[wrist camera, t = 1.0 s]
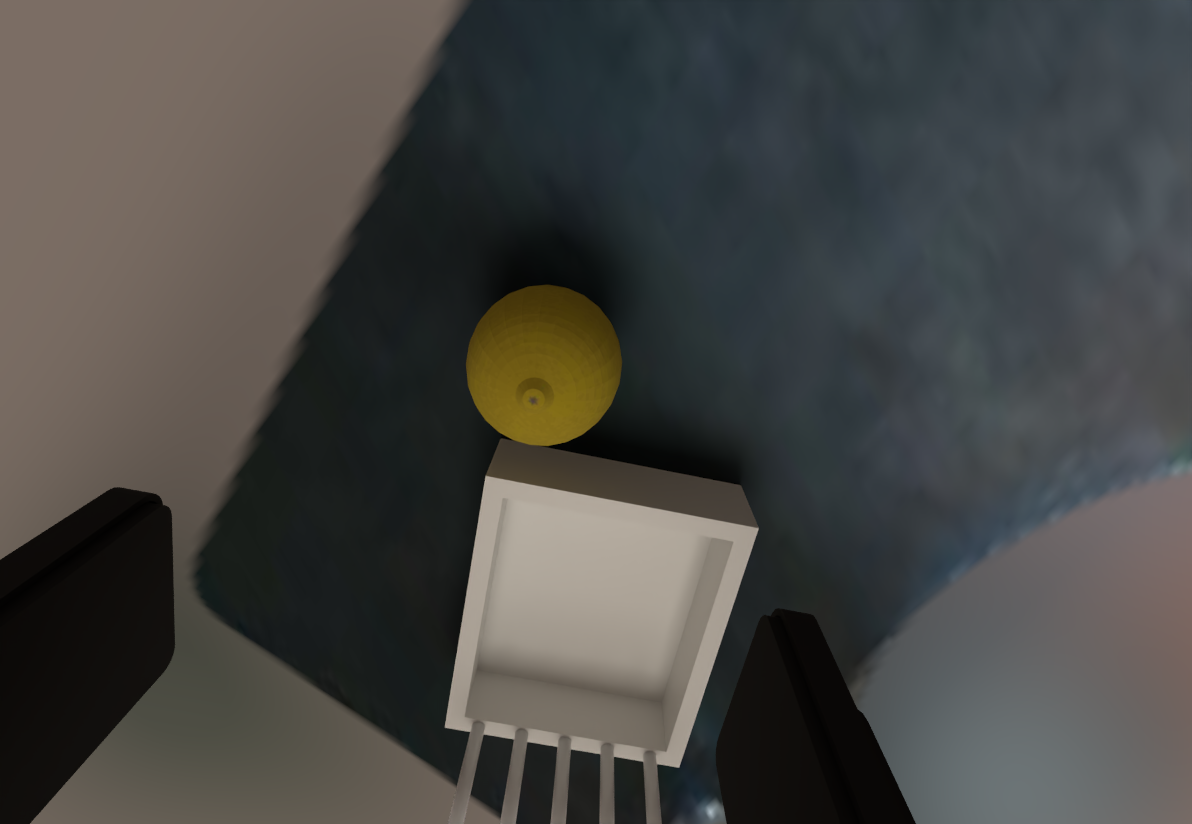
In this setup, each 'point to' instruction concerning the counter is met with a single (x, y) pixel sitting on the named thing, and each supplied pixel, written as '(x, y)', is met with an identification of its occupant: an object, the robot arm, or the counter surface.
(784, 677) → the robot arm
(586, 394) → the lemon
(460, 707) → the rack
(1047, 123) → the counter surface
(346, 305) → the counter surface
